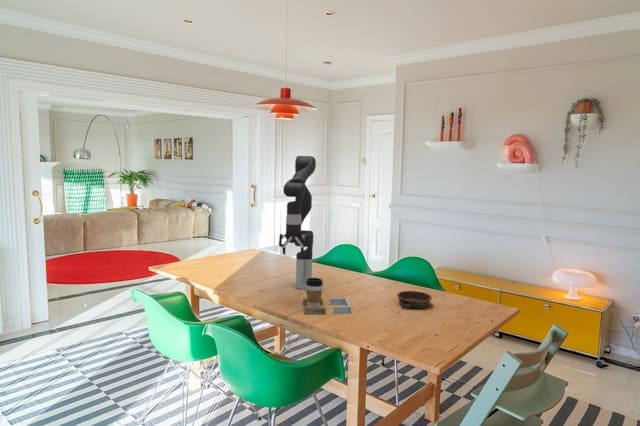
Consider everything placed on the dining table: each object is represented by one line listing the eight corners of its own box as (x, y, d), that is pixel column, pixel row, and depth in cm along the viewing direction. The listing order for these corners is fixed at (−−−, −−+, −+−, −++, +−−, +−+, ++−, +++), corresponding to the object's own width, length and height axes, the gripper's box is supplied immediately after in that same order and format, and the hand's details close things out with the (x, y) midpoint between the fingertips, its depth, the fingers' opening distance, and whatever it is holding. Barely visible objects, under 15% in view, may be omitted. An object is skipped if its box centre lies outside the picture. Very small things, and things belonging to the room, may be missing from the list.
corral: (330, 303, 226) (330, 298, 225) (346, 303, 227) (346, 298, 226) (333, 313, 212) (333, 307, 212) (350, 313, 213) (351, 307, 212)
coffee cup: (307, 311, 213) (308, 281, 211) (303, 306, 221) (304, 277, 219) (324, 310, 215) (325, 280, 213) (319, 305, 223) (320, 276, 221)
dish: (387, 305, 227) (388, 295, 226) (410, 296, 243) (410, 287, 242) (417, 314, 215) (418, 304, 215) (439, 304, 231) (439, 295, 231)
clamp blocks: (302, 302, 226) (302, 298, 226) (321, 302, 227) (322, 298, 227) (304, 314, 209) (304, 309, 209) (325, 314, 210) (325, 309, 210)
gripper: (307, 221, 222) (306, 253, 224) (279, 221, 221) (278, 253, 223) (308, 224, 215) (307, 256, 217) (279, 223, 213) (278, 256, 215)
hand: (292, 254), depth 220 cm, fingers open, 8 cm apart
